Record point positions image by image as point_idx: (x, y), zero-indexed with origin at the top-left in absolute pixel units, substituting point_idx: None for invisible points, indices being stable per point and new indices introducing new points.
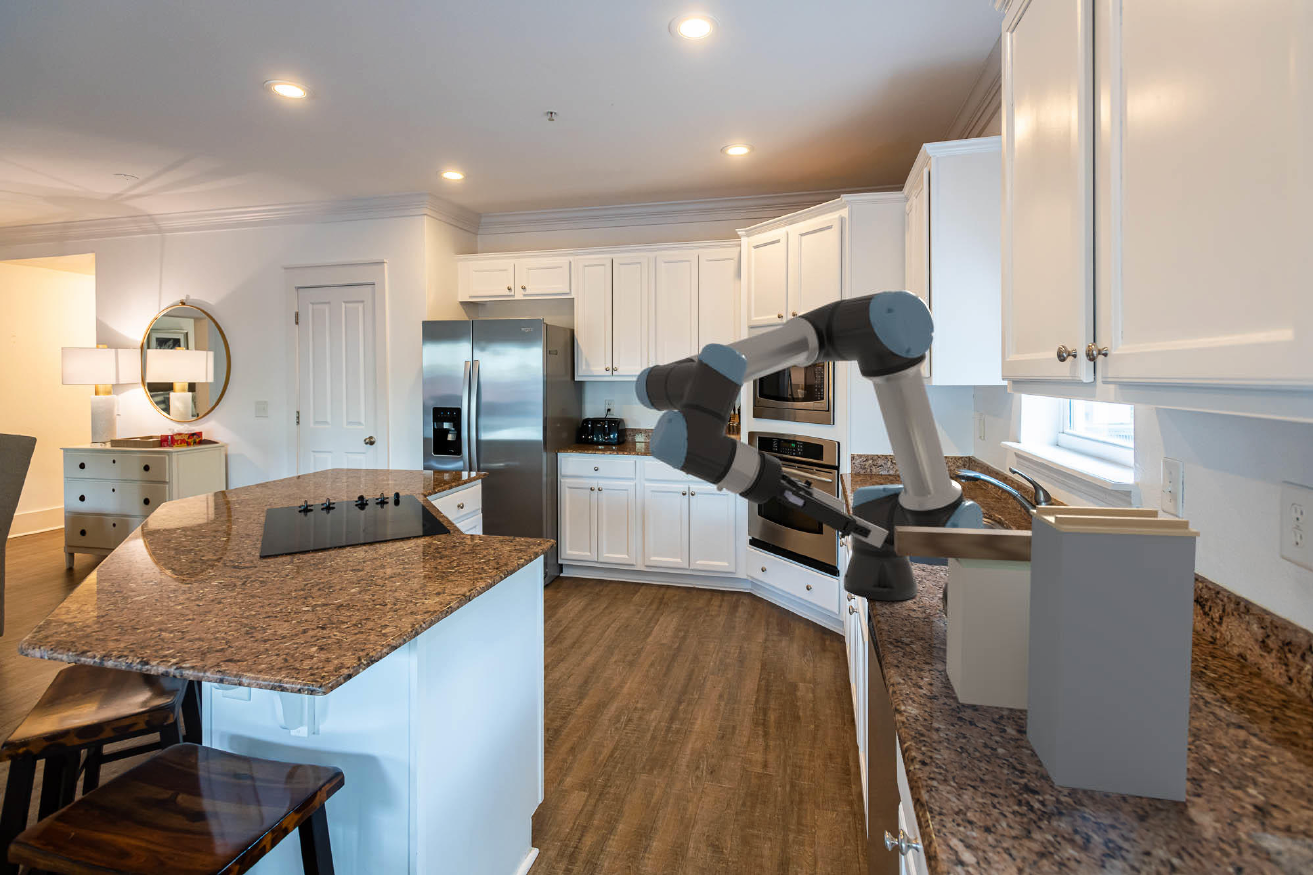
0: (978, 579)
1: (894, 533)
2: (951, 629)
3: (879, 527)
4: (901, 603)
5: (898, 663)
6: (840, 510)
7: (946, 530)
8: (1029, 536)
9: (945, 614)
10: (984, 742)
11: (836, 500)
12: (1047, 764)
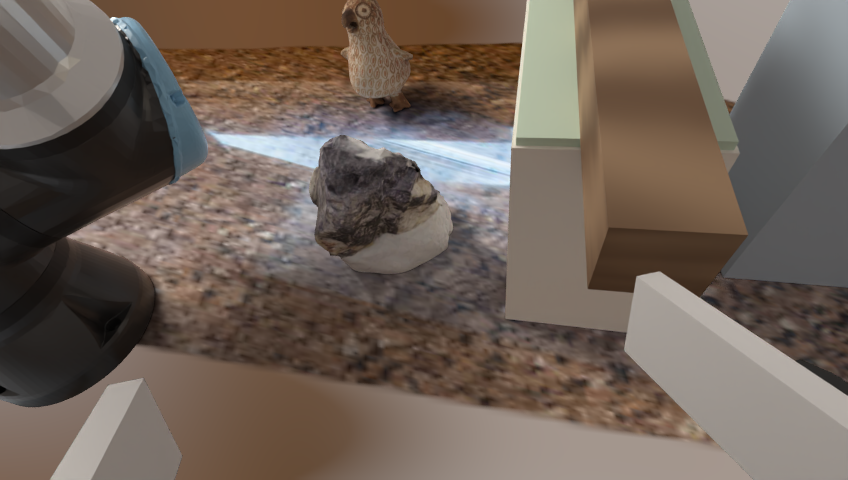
0: None
1: (603, 249)
2: (556, 272)
3: (678, 300)
4: (167, 305)
5: (472, 394)
6: (166, 432)
7: (652, 89)
8: None
9: (338, 254)
10: (772, 339)
11: (119, 453)
12: (833, 280)
